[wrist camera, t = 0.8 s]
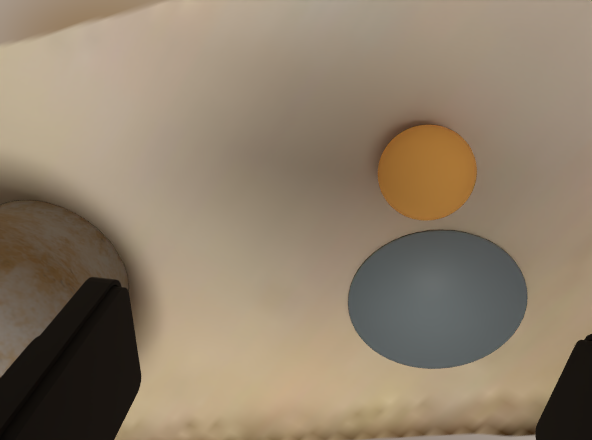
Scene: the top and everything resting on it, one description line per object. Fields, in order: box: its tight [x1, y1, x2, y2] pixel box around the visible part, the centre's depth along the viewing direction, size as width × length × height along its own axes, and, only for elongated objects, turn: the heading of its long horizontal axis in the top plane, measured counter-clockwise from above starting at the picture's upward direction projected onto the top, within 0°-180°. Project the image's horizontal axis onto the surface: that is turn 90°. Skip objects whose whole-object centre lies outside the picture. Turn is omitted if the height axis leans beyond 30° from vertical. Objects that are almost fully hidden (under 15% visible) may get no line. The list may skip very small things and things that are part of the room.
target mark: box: [348, 230, 527, 369], centre depth 37 cm, size 14×14×1 cm
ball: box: [378, 125, 477, 220], centre depth 29 cm, size 6×6×6 cm
